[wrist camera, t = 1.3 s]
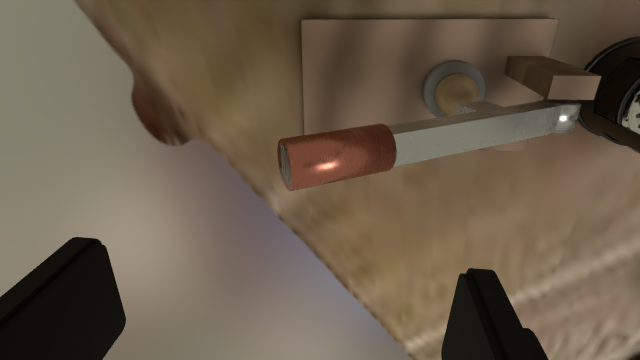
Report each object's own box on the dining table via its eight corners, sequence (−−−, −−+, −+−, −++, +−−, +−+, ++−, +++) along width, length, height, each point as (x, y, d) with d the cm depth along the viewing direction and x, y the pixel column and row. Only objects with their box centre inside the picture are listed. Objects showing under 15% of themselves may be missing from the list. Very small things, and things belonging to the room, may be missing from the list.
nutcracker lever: (541, 86, 29) (594, 98, 26) (532, 121, 31) (582, 136, 27) (268, 124, 21) (294, 149, 18) (271, 169, 23) (296, 200, 19)
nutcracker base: (548, 17, 33) (625, 27, 24) (518, 143, 39) (570, 194, 29) (304, 18, 35) (281, 28, 26) (307, 138, 41) (289, 183, 31)
